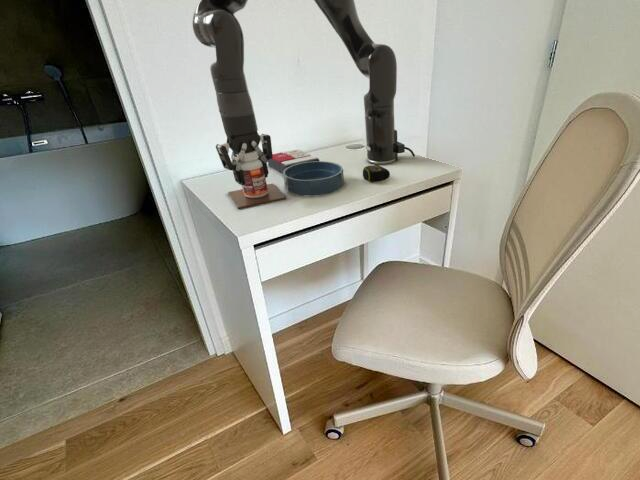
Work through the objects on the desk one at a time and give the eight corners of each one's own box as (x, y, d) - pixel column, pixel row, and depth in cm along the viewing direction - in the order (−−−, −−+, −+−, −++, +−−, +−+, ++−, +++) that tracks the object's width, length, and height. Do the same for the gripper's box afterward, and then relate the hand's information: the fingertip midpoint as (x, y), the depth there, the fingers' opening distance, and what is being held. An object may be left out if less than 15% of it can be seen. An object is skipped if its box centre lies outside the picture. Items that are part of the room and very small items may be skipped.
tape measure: (391, 181, 113) (390, 168, 110) (370, 186, 109) (369, 173, 107) (379, 174, 117) (378, 162, 115) (359, 179, 114) (358, 166, 112)
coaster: (272, 185, 110) (272, 183, 110) (286, 199, 102) (285, 197, 102) (228, 194, 105) (228, 191, 105) (238, 209, 97) (238, 207, 96)
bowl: (330, 172, 119) (329, 157, 116) (353, 189, 108) (352, 173, 105) (278, 182, 112) (275, 167, 109) (297, 201, 101) (294, 184, 98)
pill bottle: (259, 200, 100) (249, 155, 93) (239, 197, 101) (227, 153, 95) (273, 191, 105) (264, 149, 98) (253, 189, 106) (243, 146, 100)
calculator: (297, 148, 128) (319, 156, 118) (300, 161, 130) (321, 170, 120) (265, 154, 122) (285, 163, 112) (268, 168, 125) (288, 178, 114)
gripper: (217, 119, 85) (236, 192, 94) (272, 108, 94) (285, 175, 104) (199, 115, 89) (219, 185, 98) (254, 105, 98) (268, 170, 108)
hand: (253, 180), depth 101 cm, fingers closed on pill bottle, 6 cm apart
